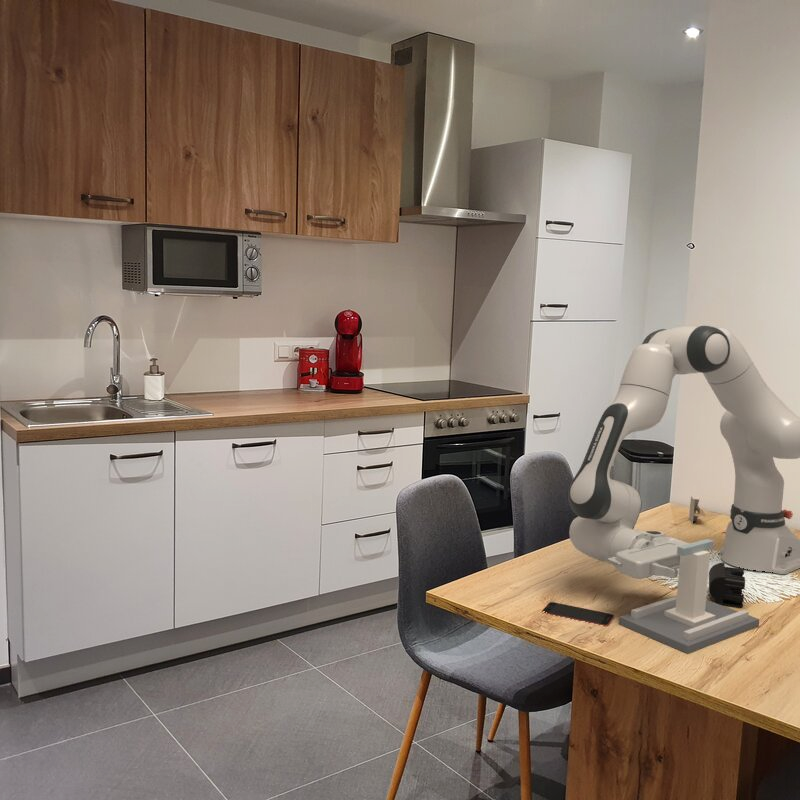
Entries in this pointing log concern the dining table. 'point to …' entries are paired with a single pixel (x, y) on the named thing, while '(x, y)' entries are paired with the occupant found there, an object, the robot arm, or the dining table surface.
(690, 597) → the stand
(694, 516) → the architectural model
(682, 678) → the dining table surface
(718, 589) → the black rounded block
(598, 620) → the smartphone
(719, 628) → the plate
